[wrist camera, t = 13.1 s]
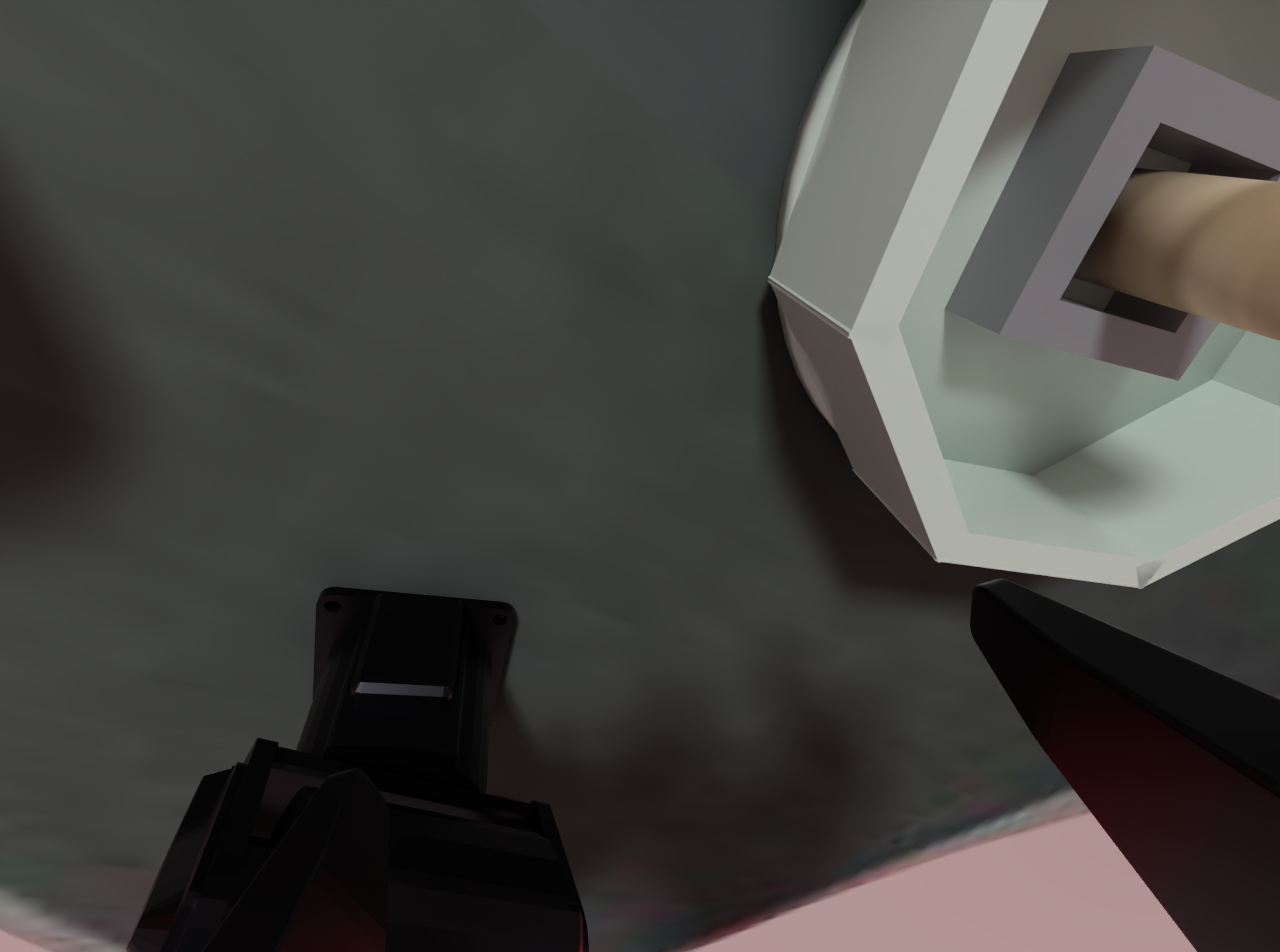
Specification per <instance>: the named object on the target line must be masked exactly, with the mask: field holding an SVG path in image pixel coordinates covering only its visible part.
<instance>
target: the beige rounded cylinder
mask: <svg viewBox="0 0 1280 952" xmlns="http://www.w3.org/2000/svg"><path fill="white" fill-rule="evenodd" d="M1073 278H1076V279H1079V280H1083V281H1086V282H1089V283H1092V284H1096V285H1099V286H1102V287H1105V288H1109V289H1112V290H1115V291H1118V292H1122V293H1125V294H1128V295H1132V296H1135V297H1138V298H1141V299H1145V300H1148V301H1151V302H1154V303H1158V304H1161V305H1164V306H1167V307H1171V308H1174V309H1177V310H1180V311H1184V312H1187V313H1190V314H1193V315H1197V316H1200V317H1203V318H1206V319H1210V320H1213V321H1216V322H1220V323H1223V324H1226V325H1229V326H1233V327H1236V328H1239V329H1242V330H1246V331H1249V332H1252V333H1255V334H1259V335H1262V336H1265V337H1268V338H1272V339H1275V340H1278V341H1280V182H1275V181H1265V180H1255V179H1245V178H1235V177H1225V176H1215V175H1205V174H1194V173H1184V172H1174V171H1164V170H1154V169H1144V168H1134V170H1133V172H1132V173H1131V175H1130V177H1129V179H1128V181H1127V182H1126V184H1125V186H1124V188H1123V189H1122V191H1121V193H1120V195H1119V196H1118V198H1117V200H1116V202H1115V203H1114V205H1113V207H1112V209H1111V210H1110V212H1109V214H1108V216H1107V217H1106V219H1105V221H1104V223H1103V224H1102V226H1101V228H1100V230H1099V231H1098V233H1097V235H1096V237H1095V238H1094V240H1093V242H1092V244H1091V245H1090V247H1089V249H1088V251H1087V253H1086V254H1085V256H1084V258H1083V260H1082V261H1081V263H1080V265H1079V267H1078V268H1077V270H1076V272H1075V274H1074V275H1073Z"/></svg>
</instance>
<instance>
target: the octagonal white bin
mask: <svg viewBox="0 0 1280 952" xmlns="http://www.w3.org/2000/svg"><path fill="white" fill-rule="evenodd" d="M1134 168H1144V169H1154V170H1164V171H1174V172H1184V173H1194V174H1205V175H1215V176H1225V177H1235V178H1245V179H1255V180H1265V181H1275V182H1280V0H862V1H861V2H860V4H859V5H858V7H857V8H856V10H855V12H854V13H853V15H852V16H851V18H850V19H849V21H848V22H847V24H846V25H845V27H844V29H843V31H842V33H841V35H840V37H839V39H838V41H837V42H836V44H835V46H834V48H833V50H832V52H831V54H830V56H829V58H828V60H827V62H826V64H825V66H824V67H823V69H822V71H821V73H820V75H819V77H818V80H817V82H816V85H815V87H814V90H813V92H812V95H811V97H810V100H809V102H808V105H807V108H806V110H805V113H804V115H803V118H802V120H801V123H800V125H799V128H798V131H797V135H796V138H795V142H794V146H793V149H792V153H791V156H790V160H789V163H788V167H787V171H786V174H785V178H784V184H783V190H782V196H781V202H780V209H779V215H778V221H777V233H776V254H775V262H774V265H773V268H772V271H771V274H770V276H768V279H769V280H768V282H769V283H770V284H771V286H772V288H773V290H774V292H775V295H776V297H777V303H778V311H779V315H780V320H781V325H782V330H783V334H784V339H785V344H786V346H787V349H788V352H789V355H790V357H791V360H792V363H793V365H794V368H795V371H796V373H797V376H798V378H799V380H800V381H801V383H802V385H803V387H804V389H805V390H806V392H807V394H808V396H809V397H810V399H811V401H812V403H813V404H814V405H815V407H816V408H817V409H818V410H819V412H820V413H821V414H822V415H823V417H824V418H825V419H826V421H827V422H828V423H829V424H830V426H831V427H832V428H833V429H834V430H835V431H836V432H837V434H838V436H839V438H840V440H841V443H842V445H843V447H844V449H845V452H846V454H847V456H848V458H849V461H850V463H851V465H852V467H853V469H852V471H853V472H854V473H855V474H856V475H857V476H858V477H859V478H860V479H861V480H862V481H863V483H864V484H865V485H866V486H867V487H868V488H869V489H870V490H871V491H872V492H873V493H874V495H875V496H876V497H877V498H878V499H879V500H880V501H881V502H882V503H883V504H884V505H885V506H886V508H887V509H888V510H889V511H890V512H891V513H892V514H893V515H894V516H895V517H896V518H897V520H898V521H899V522H900V523H901V524H902V525H903V526H904V527H905V528H906V529H907V530H908V531H909V533H910V534H911V535H912V536H913V537H914V538H915V539H916V540H917V541H918V542H919V543H920V545H921V546H922V547H923V548H924V549H925V550H926V551H927V552H928V553H929V554H930V555H931V556H932V558H933V559H934V560H935V561H937V562H938V563H940V562H946V563H953V564H961V565H969V566H976V567H984V568H992V569H999V570H1007V571H1014V572H1022V573H1030V574H1037V575H1045V576H1053V577H1060V578H1068V579H1075V580H1083V581H1091V582H1098V583H1106V584H1113V585H1121V586H1129V587H1136V588H1138V589H1141V588H1144V586H1146V585H1148V584H1150V583H1152V582H1154V581H1156V580H1158V579H1160V578H1162V577H1164V576H1166V575H1168V574H1170V573H1172V572H1174V571H1176V570H1178V569H1180V568H1182V567H1184V566H1186V565H1188V564H1190V563H1192V562H1194V561H1196V560H1198V559H1200V558H1202V557H1204V556H1206V555H1208V554H1210V553H1212V552H1214V551H1216V550H1218V549H1220V548H1222V547H1224V546H1226V545H1228V544H1230V543H1232V542H1234V541H1236V540H1238V539H1240V538H1242V537H1244V536H1246V535H1248V534H1250V533H1252V532H1254V531H1256V530H1258V529H1260V528H1262V527H1264V526H1266V525H1268V524H1270V523H1272V522H1274V521H1276V520H1278V519H1280V341H1278V340H1275V339H1272V338H1268V337H1265V336H1262V335H1259V334H1255V333H1252V332H1249V331H1246V330H1242V329H1239V328H1236V327H1233V326H1229V325H1226V324H1223V323H1220V322H1216V321H1213V320H1210V319H1206V318H1203V317H1200V316H1197V315H1193V314H1190V313H1187V312H1184V311H1180V310H1177V309H1174V308H1171V307H1167V306H1164V305H1161V304H1158V303H1154V302H1151V301H1148V300H1145V299H1141V298H1138V297H1135V296H1132V295H1128V294H1125V293H1122V292H1118V291H1115V290H1112V289H1109V288H1105V287H1102V286H1099V285H1096V284H1092V283H1089V282H1086V281H1083V280H1079V279H1076V278H1073V275H1074V274H1075V272H1076V270H1077V268H1078V267H1079V265H1080V263H1081V261H1082V260H1083V258H1084V256H1085V254H1086V253H1087V251H1088V249H1089V247H1090V245H1091V244H1092V242H1093V240H1094V238H1095V237H1096V235H1097V233H1098V231H1099V230H1100V228H1101V226H1102V224H1103V223H1104V221H1105V219H1106V217H1107V216H1108V214H1109V212H1110V210H1111V209H1112V207H1113V205H1114V203H1115V202H1116V200H1117V198H1118V196H1119V195H1120V193H1121V191H1122V189H1123V188H1124V186H1125V184H1126V182H1127V181H1128V179H1129V177H1130V175H1131V173H1132V172H1133V170H1134Z"/></svg>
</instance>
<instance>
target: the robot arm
mask: <svg viewBox="0 0 1280 952" xmlns="http://www.w3.org/2000/svg"><path fill="white" fill-rule="evenodd" d="M329 601H337V602H338V603H339V604H332V603H330V602H329ZM496 615H504V617H503V618H498V617H495V616H496ZM513 623H514V609H513V607H512V606H511V605H509V604H508V603H505V602H498V601H487V600H475V599H464V598H453V597H442V596H431V595H420V594H409V593H397V592H386V591H375V590H364V589H353V588H342V587H330V588H327V589H324V590H323V591H322V592H321V594H320V596H319V599H318V601H317V604H316V627H315V655H314V682H313V702H312V705H311V708H310V711H309V714H308V717H307V720H306V723H305V725H304V728H303V731H302V734H301V737H300V740H299V743H298V746H297V749H296V750H292V749H288V748H283V747H279V746H278V743H279V742H274V741H270V740H265V739H261V738H257V739H256V741H255V743H254V745H253V746H252V748H251V750H250V752H249V754H248V756H247V757H246V759H245V761H244V763H239V762H237V764H236V765H235V766H232V768H231V769H228V770H225V771H221V772H217V773H214V774H210V775H206V776H203V778H202V780H201V782H200V784H199V786H198V788H197V790H196V792H195V794H194V796H193V798H192V801H191V803H190V805H189V807H188V809H187V811H186V813H185V816H184V818H183V820H182V822H181V824H180V826H179V828H178V831H177V833H176V835H175V837H174V839H173V841H172V844H171V846H170V848H169V850H168V852H167V854H166V857H165V859H164V861H163V863H162V866H161V868H160V870H159V872H158V875H157V877H156V879H155V882H154V884H153V886H152V889H151V891H150V893H149V896H148V898H147V900H146V903H145V905H144V907H143V910H142V912H141V914H140V917H139V919H138V921H137V924H136V926H135V928H134V930H133V933H132V935H131V937H130V940H129V942H128V944H127V947H126V950H127V952H589V943H588V931H587V924H586V920H585V915H584V911H583V908H582V905H581V901H580V898H579V895H578V892H577V889H576V886H575V882H574V879H573V876H572V873H571V870H570V867H569V864H568V860H567V857H566V854H565V851H564V848H563V845H562V841H561V838H560V835H559V832H558V829H557V826H556V822H555V819H554V816H553V813H552V810H551V807H550V805H549V804H546V803H542V802H537V801H532V802H531V803H527V802H523V801H518V800H514V799H509V798H505V797H500V796H496V795H491V794H487V793H486V788H487V765H488V742H489V727H490V725H491V721H492V717H493V712H494V708H495V704H496V699H497V695H498V690H499V686H500V681H501V677H502V672H503V668H504V663H505V659H506V655H507V650H508V646H509V641H510V637H511V632H512V628H513ZM970 629H971V633H972V636H973V638H974V640H975V642H976V644H977V646H978V647H979V649H980V650H981V652H982V654H983V655H984V657H985V659H986V660H987V662H988V663H989V665H990V667H991V668H992V670H993V672H994V673H995V675H996V676H997V678H998V680H999V681H1000V683H1001V685H1002V686H1003V688H1004V690H1005V691H1006V693H1007V694H1008V696H1009V698H1010V699H1011V701H1012V703H1013V704H1014V706H1015V707H1016V709H1017V711H1018V712H1019V714H1020V716H1021V717H1022V719H1023V720H1024V722H1025V724H1026V725H1027V727H1028V728H1029V730H1030V731H1031V733H1032V734H1033V736H1034V737H1035V739H1036V740H1037V742H1038V743H1039V744H1040V746H1041V747H1042V748H1043V750H1044V751H1045V753H1046V754H1047V755H1048V756H1049V758H1050V759H1051V760H1052V762H1053V763H1054V764H1055V766H1056V767H1057V768H1058V770H1059V771H1060V772H1061V774H1062V775H1063V776H1064V777H1065V779H1066V780H1067V781H1068V783H1069V784H1070V785H1071V787H1072V788H1073V789H1074V791H1075V792H1076V793H1077V795H1078V796H1079V797H1080V798H1081V800H1082V801H1083V802H1084V804H1085V805H1086V806H1087V808H1088V809H1089V810H1090V812H1091V813H1092V814H1093V815H1094V817H1095V818H1096V819H1097V821H1098V822H1099V823H1100V825H1101V826H1102V827H1103V829H1104V830H1105V831H1106V833H1107V834H1108V835H1109V837H1110V838H1111V839H1112V840H1113V842H1114V843H1115V844H1116V846H1117V847H1118V848H1119V850H1120V851H1121V852H1122V854H1123V855H1124V856H1125V858H1126V859H1127V860H1128V861H1129V863H1130V864H1131V865H1132V867H1133V868H1134V869H1135V871H1136V872H1137V873H1138V875H1139V876H1140V877H1141V879H1142V880H1143V881H1144V882H1145V884H1146V885H1147V886H1148V888H1149V889H1150V890H1151V892H1152V893H1153V894H1154V896H1155V897H1156V898H1157V899H1158V901H1159V902H1160V903H1161V905H1162V906H1163V907H1164V909H1165V910H1166V911H1167V913H1168V914H1169V915H1170V917H1171V918H1172V919H1173V921H1174V922H1175V923H1176V924H1177V926H1178V927H1179V928H1180V930H1181V931H1182V932H1183V934H1184V935H1185V936H1186V938H1187V939H1188V940H1189V942H1190V943H1191V944H1192V945H1193V947H1194V948H1195V949H1196V951H1197V952H1280V699H1279V698H1276V697H1274V696H1272V695H1270V694H1267V693H1265V692H1263V691H1261V690H1258V689H1256V688H1254V687H1251V686H1249V685H1247V684H1245V683H1242V682H1240V681H1238V680H1235V679H1233V678H1231V677H1229V676H1226V675H1224V674H1222V673H1220V672H1217V671H1215V670H1213V669H1210V668H1208V667H1206V666H1204V665H1201V664H1199V663H1197V662H1194V661H1192V660H1190V659H1188V658H1185V657H1183V656H1181V655H1179V654H1176V653H1174V652H1172V651H1169V650H1167V649H1165V648H1163V647H1160V646H1158V645H1156V644H1153V643H1151V642H1149V641H1147V640H1144V639H1142V638H1140V637H1138V636H1135V635H1133V634H1131V633H1128V632H1126V631H1124V630H1122V629H1119V628H1117V627H1115V626H1112V625H1110V624H1108V623H1106V622H1103V621H1101V620H1099V619H1097V618H1094V617H1092V616H1090V615H1087V614H1085V613H1083V612H1081V611H1078V610H1076V609H1074V608H1071V607H1069V606H1067V605H1065V604H1062V603H1060V602H1058V601H1056V600H1053V599H1051V598H1049V597H1046V596H1044V595H1042V594H1040V593H1037V592H1035V591H1033V590H1030V589H1028V588H1026V587H1024V586H1021V585H1019V584H1017V583H1015V582H1012V581H1010V580H1007V579H996V580H992V581H989V582H986V583H982V584H979V585H977V586H976V587H975V588H974V590H973V593H972V604H971V617H970Z"/></svg>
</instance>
